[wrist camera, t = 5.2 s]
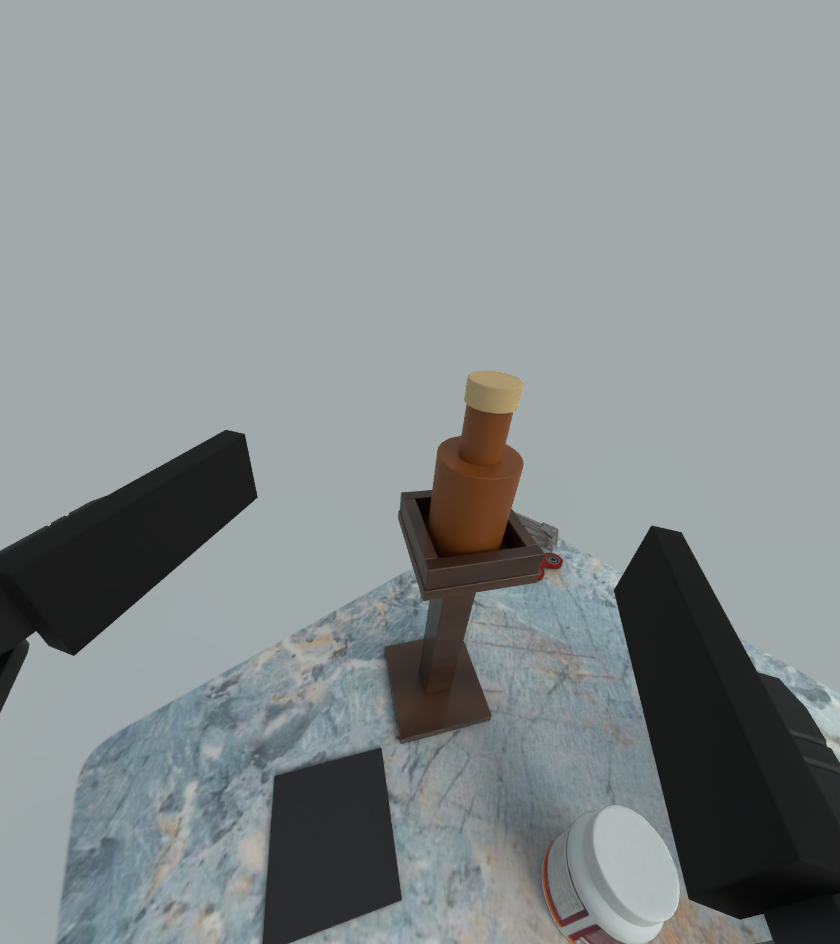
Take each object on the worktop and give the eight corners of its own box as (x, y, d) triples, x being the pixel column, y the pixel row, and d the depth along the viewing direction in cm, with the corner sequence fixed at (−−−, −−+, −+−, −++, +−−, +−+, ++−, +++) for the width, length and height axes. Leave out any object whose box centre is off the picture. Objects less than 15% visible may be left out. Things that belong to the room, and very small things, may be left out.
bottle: (512, 561, 27) (566, 396, 20) (438, 572, 26) (467, 397, 18) (482, 512, 32) (516, 364, 25) (418, 519, 30) (435, 364, 23)
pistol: (522, 575, 54) (564, 541, 60) (523, 564, 53) (566, 530, 59) (439, 527, 67) (482, 503, 74) (439, 517, 66) (482, 494, 73)
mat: (401, 900, 27) (401, 899, 27) (262, 953, 25) (262, 952, 25) (381, 749, 35) (381, 747, 35) (275, 777, 33) (274, 776, 33)
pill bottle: (632, 902, 28) (706, 870, 22) (594, 987, 25) (669, 976, 19) (565, 819, 32) (611, 772, 26) (523, 882, 29) (566, 845, 23)
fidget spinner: (510, 548, 62) (512, 542, 61) (550, 547, 62) (552, 541, 62) (526, 582, 55) (528, 576, 54) (571, 581, 56) (573, 575, 55)
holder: (490, 720, 38) (557, 559, 25) (400, 744, 36) (421, 579, 22) (459, 636, 46) (497, 480, 33) (384, 651, 44) (392, 488, 30)
